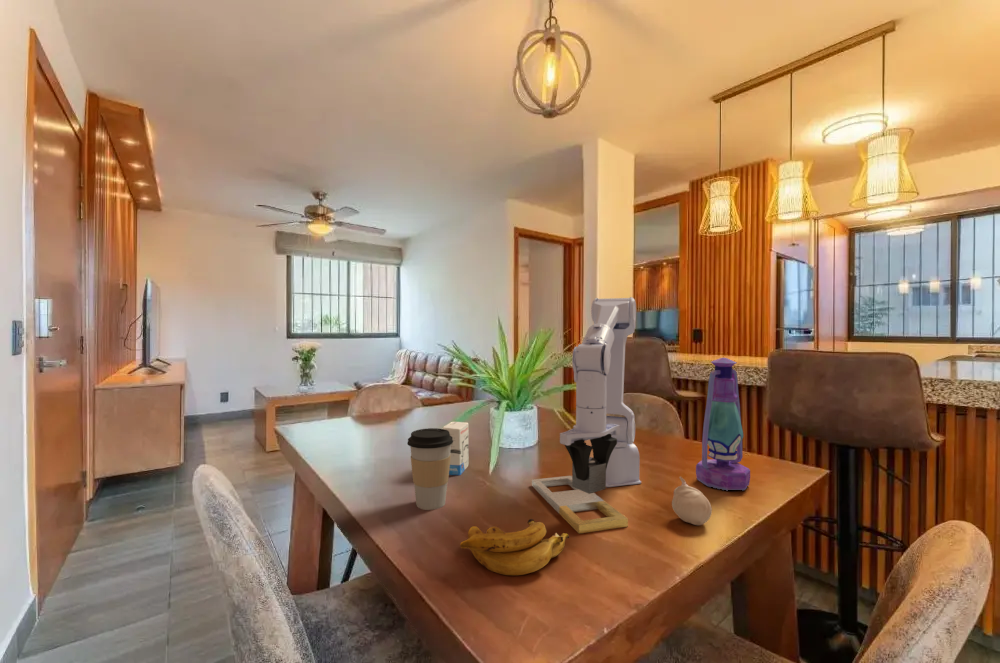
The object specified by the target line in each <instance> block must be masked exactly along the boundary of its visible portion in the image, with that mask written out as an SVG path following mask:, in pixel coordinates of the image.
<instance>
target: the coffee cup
mask: <svg viewBox="0 0 1000 663" xmlns="http://www.w3.org/2000/svg"><path fill="white" fill-rule="evenodd" d="M452 439H453V438H452V436H450V433H449V431H448V430H445V429H443V428H437V427H436V428H435V427H434V428H432V427H430V428H420V429H417V430H414V431H411V433H410V437H409V438H407V445H408V446H409V447H410V463H411V474H412V483H413V487H414V497H415V506H416V507H417V508H418V509H420V510H423V511H434V510H438V509H440V508H443V507H444V506H446V498H447V488H448V482H449V476H450V475H449V468H450V458H451V454H450V450H451V444H452V443H453V440H452Z"/></svg>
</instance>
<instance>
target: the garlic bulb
mask: <svg viewBox="0 0 1000 663" xmlns="http://www.w3.org/2000/svg"><path fill="white" fill-rule="evenodd" d="M679 480H680V481H681V485H678V486H677V487H676V488H674V490H673V497H672V501H671V506H672V509H673V511H674V513H675V514H676V515H677V516H678V517H679V518H680V520H682V521H683V522H686V523H689V524H692V525H693V526H702V525H704V524H705V523H706V522H708V521H709V519H710V518H711V516H712V513H713V512H712V511H713V509H712V505H711V502H710V501H709V499H708V498H707V497H706V496H705V495H704V493H703V492H702V491H701V490H699V489H697V488H696V487H693V486H690V485H688V483H687V482H686V480H685V479H684V478H683V477H682V476H681V475H679Z"/></svg>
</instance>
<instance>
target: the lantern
mask: <svg viewBox="0 0 1000 663" xmlns="http://www.w3.org/2000/svg"><path fill="white" fill-rule="evenodd" d="M710 363H711V364H712V365H714V370H711V371H710V373H709V375H708V376H709V377H708V387H707V397H706V405H705V410H704V411H705V412H704V420H703V427H702V440H701V460H700V461H699V462H698V463H697V464H696V465H695V476H696V480H697V481H698V482H700V483H702V484H703V485H705V486H707V488H711V487H713V488H712V489H716V488H717V490H720V489H722V490H721V491H724V490H726V491H725V492H729V491H728V490H742V491H745V490H746V489H747V488H748V487H749V486H750V482H751V469H750V468H749V467H746V466H744V465H743V464H741V463H740V462H741V461H742V459H743V457H744V456H743V438H744V431H743V426H742V417H741V404H740V397H739V396H740V394H739V381H738V373H737V370H735V369H733V366H734V365H735V364H737V362H736V361H734V360H732V359H730V358H727V357H719V358H717V359H714V360H711V361H710ZM708 446H709V448H708ZM708 452H709V453H708ZM708 457H709V458H711V459H709V458H708ZM747 486H748V487H747Z"/></svg>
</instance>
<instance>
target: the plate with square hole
mask: <svg viewBox="0 0 1000 663" xmlns="http://www.w3.org/2000/svg"><path fill="white" fill-rule="evenodd" d="M566 485H568V486H569V487H571V489H572V490H563V491H553V492H552V491H551V490H550V489H549V488H548V487H556V486H566ZM531 487H533V489H535V491H536V492H537V493H538V494H539V495H540V496H541V497H542V498H543V499H544V500H545V501H546V503H548V504H549V505H550V506H551V507H552V508H553V509H554V510H555V511H556V512H557V514H558V515H560V516H561V517H562V519H564V520H565V521H566V523H568V524H569V525H570V526H571V527H572V529H573V530H575V531H576V533H577V534H578V535H579V534H584V533H585V534H586V533H592V532H599V531H606V530H613V529H620V528H627V527H628V526H629V518H628V517H627V516H625V515H624V514H623V513H621V512H620V511H619V510H617V509H616V508H615V507H614V506H612V505H611V504H609V503H608V502H607V501H605V500H604V498H602V497H600V496H599V495H598V494H596V492H594V493H591V494H588V493H586V492H584V491H581V490H579V489H577V488H575V487H572V475H565V476H563V475H562V476H554V477H547V478H546V477H545V478H536V479H535V478H533V479H531ZM592 510H598V511H599V512H601V513H602V514H603V515H604V516H606V517H600V518H591V519H584V520H582V518H580V517H579V516H578V515H577V514H576V513H575V512H584V511H592Z"/></svg>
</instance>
